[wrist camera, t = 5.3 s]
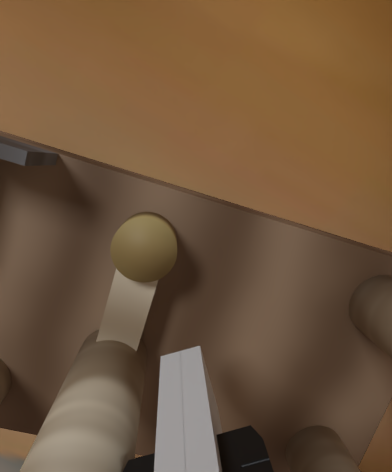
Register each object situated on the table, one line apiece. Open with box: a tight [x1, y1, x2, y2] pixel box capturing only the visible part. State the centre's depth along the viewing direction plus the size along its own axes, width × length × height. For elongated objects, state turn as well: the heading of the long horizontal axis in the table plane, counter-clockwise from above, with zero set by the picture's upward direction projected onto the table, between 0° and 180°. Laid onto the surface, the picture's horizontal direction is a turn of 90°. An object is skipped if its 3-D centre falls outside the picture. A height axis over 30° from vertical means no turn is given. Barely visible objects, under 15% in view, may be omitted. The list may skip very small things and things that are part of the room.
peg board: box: [0, 131, 392, 472], centre depth 14 cm, size 24×14×11 cm, turn 73°
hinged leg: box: [20, 212, 177, 472], centre depth 11 cm, size 9×3×8 cm, turn 163°
